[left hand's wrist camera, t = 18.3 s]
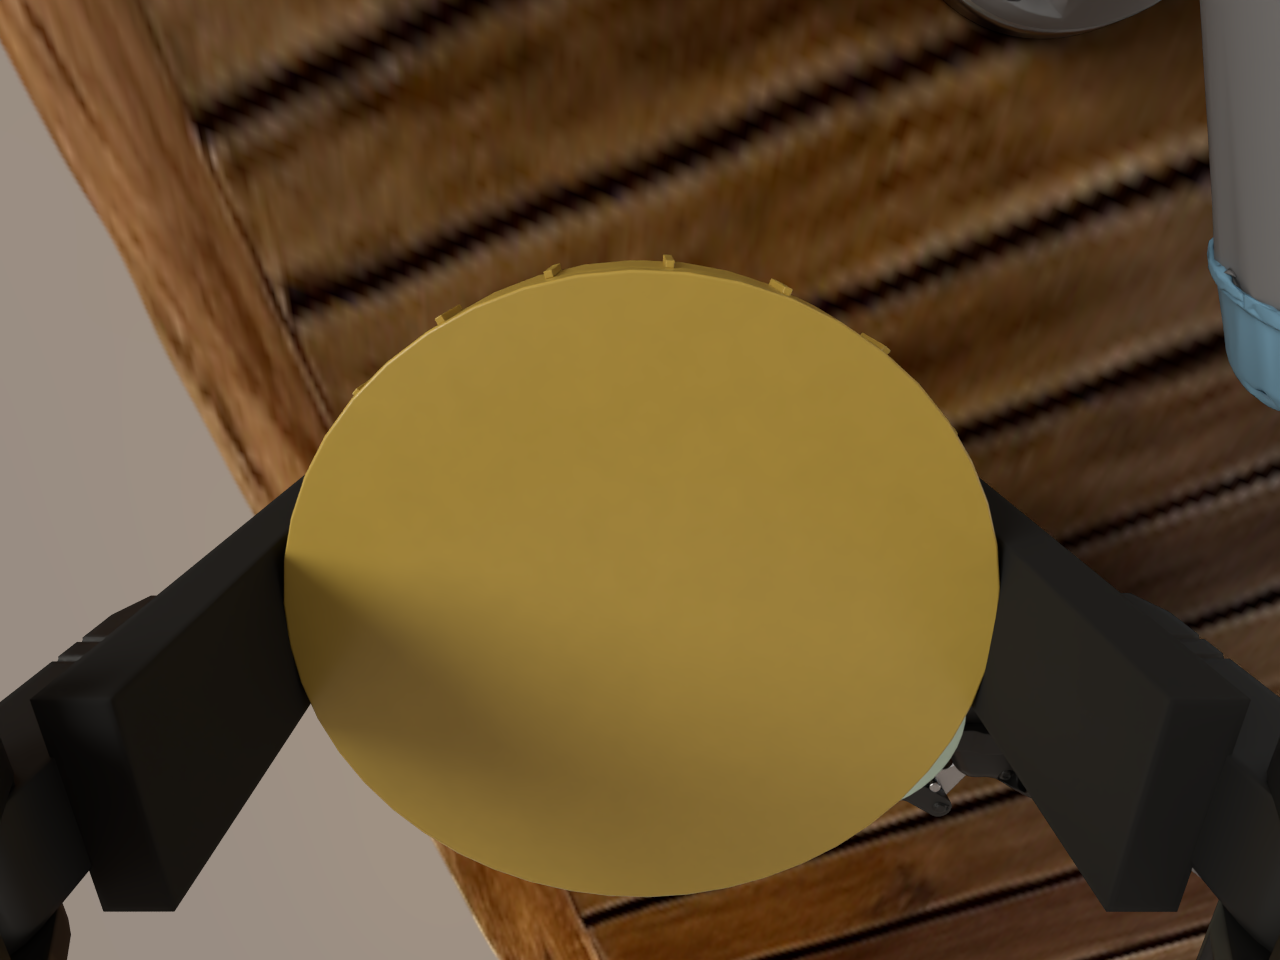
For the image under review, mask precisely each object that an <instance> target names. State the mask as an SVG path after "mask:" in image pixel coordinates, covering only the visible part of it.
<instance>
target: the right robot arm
mask: <svg viewBox="0 0 1280 960" xmlns="http://www.w3.org/2000/svg"><path fill="white" fill-rule="evenodd" d="M965 775H967V776H971V777H991V778H995V779H998V780H999V781H1001V782H1003V783H1004V784H1006V785H1008V786H1009V787H1011V788H1012V789H1014V790H1016V791H1018V792H1020V793H1021V794H1023V795H1026V796H1028V797H1030V798H1031V796H1030V795H1029V793H1028V791H1027V790H1026V788H1025V787H1024V785H1023V784H1022V782H1021V781H1020V779H1019V778H1018V776H1017V775H1016V773H1015V772H1014V770H1013V769H1012V767H1011V766H1010V764H1009V763H1008V761H1007V759H1006V758H1005V756H1004V755H1003V753H1002V752H1001V750H1000V749H999V747H998V746H997V744H996V743H995V741H994V740H993V738H992V737H991V735H990V734H989V732H988V730H987V729H986V727H985V726H984V724H983V723H982V721H981V720H980V718H979V717H978V715H977V714H976V712H975V711H974V709H973V708H972V706H971V708H970V709H969V711H968V713H967V715H966V721H965V726H964V730H963V734H962V737H961V739H960V742H959V744H958V746H957V748H956V750H955V752H954V753H953V755H952V757H951V758H950V760H949V761H948V762H947V764H946V765H945V766H944V768H943V769H942V770H941V771H940V772H939V773H938V774H937V775H936V776H935V777H934V778H933V779H932V780H931V781H930V782H928V783H927V784H926V785H925V786H923V787H922V788H921V789H919V790H918V791H916V792H915V793H913V794H911V795H910V796H908V797H906V798H904V799H902V800H904V801H908V802H909V803H911V804H913V805H915V806H916V807H918V808H920V809H922V810H924V811H925V812H927V813H929V814H931V815H933V816H943V815H945V814H947V813H948V812H949V811H950V810H951V806H952V805H951V802H950V800H949V798H948V796H947V795H946V794H947V793H948V792H949V791H950V790H951V789H952V788H953V787H954V786H955V785H956V784H957V783H958V782H959V781H960V780H961V779H962V778H963V777H964V776H965ZM1191 871H1193V872H1194V873H1196V874H1197V872H1196V871H1195V870H1194V869H1193V868H1192V870H1191ZM1197 875H1198V874H1197ZM1198 876H1199V875H1198ZM1199 877H1200V876H1199ZM1200 878H1201V877H1200Z"/></svg>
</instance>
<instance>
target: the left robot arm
mask: <svg viewBox="0 0 1280 960" xmlns="http://www.w3.org/2000/svg"><path fill="white" fill-rule="evenodd" d="M944 1H945V2H946V3H947V4H948V5H949V6H950V7H952V8H953V9H954V10H956V11H957V12H958V13H960V14H961V15H962V16H964V17H966V18H968V19H969V20H971V21H973V22H974V23H976V24H978V25H981V26H983V27H985V28H988V29H990V30H992V31H996V32H999V33H1002V34H1006V35H1010V36H1016V37H1022V38H1033V39H1050V38H1062V37H1068V36H1074V35H1079V34H1082V33H1086V32H1089V31H1093V30H1096V29H1099V28H1101V27H1104V26H1107V25H1109V24H1112V23H1115V22H1117V21H1120V20H1122V19H1125V18H1128V17H1130V16H1133V15H1135V14H1137V13H1139V12H1141V11H1143V10H1145V9H1147V8H1149V7H1151V6H1153V5H1154V4H1156V3H1157V2H1159V1H1161V0H944ZM1200 11H1201V28H1202V44H1203V60H1204V77H1205V93H1206V110H1207V126H1208V142H1209V159H1210V175H1211V191H1212V210H1213V238H1212V239H1211V240H1210V241H1209V243H1208V251H1207V257H1208V268H1209V270H1210V273H1211V275H1212V277H1213V279H1214V281H1215V282H1216V284H1217V286H1218V293H1219V300H1220V307H1221V314H1222V321H1223V328H1224V336H1225V346H1226V352H1227V356H1228V360H1229V363H1230V365H1231V367H1232V369H1233V371H1234V373H1235V375H1236V377H1237V378H1238V379H1239V381H1240V382H1241V383H1242V385H1243V386H1244V387H1245V388H1246V389H1247V390H1248V391H1249V392H1250V393H1251V394H1252V395H1253V396H1255V397H1256V398H1257V399H1259V400H1260V401H1261V402H1263V403H1264V404H1265V405H1267V406H1268V407H1271V408H1273V409H1275V410H1278V411H1280V0H1200ZM304 476H305V475H304ZM304 476H303V477H302V478H300V479H299V480H298V481H297V482H295V483H294V484H293V485H292V486H291V487H289V488H288V489H287V490H286V491H284V492H283V493H282V494H281V495H280V496H278V497H277V498H276V499H275V500H273V501H272V502H271V503H270V504H269V505H267V506H266V507H265V508H264V509H262V510H261V511H260V512H259V513H257V514H256V515H255V516H254V517H253V518H251V519H250V520H249V521H248V522H246V523H245V524H244V525H243V526H242V527H240V528H239V529H238V530H237V531H235V532H234V533H233V534H232V535H231V536H229V537H228V538H227V539H226V540H224V541H223V542H222V543H221V544H219V545H218V546H217V547H216V548H215V549H213V550H212V551H211V552H210V553H208V554H207V555H206V556H205V557H204V558H202V559H201V560H200V561H199V562H197V563H196V564H195V565H194V566H193V567H191V568H190V569H189V570H188V571H186V572H185V573H184V574H183V575H182V576H180V577H179V578H178V579H177V580H175V581H174V582H173V583H172V584H171V585H169V586H168V587H167V588H166V589H164V590H163V591H162V592H161V593H160V594H158V595H157V596H149V597H147V598H145V599H143V600H141V601H139V602H137V603H135V604H133V605H131V606H129V607H127V608H125V609H123V610H121V611H119V612H117V613H114V614H113V615H111V616H110V617H108V618H107V619H106V620H105V621H103V622H102V623H101V624H99V625H98V626H97V627H96V628H94V629H93V630H92V631H91V632H89V633H88V634H87V635H85V636H84V637H83V641H82V642H76V643H75V644H74V645H73V646H71V647H70V648H69V649H67V650H66V651H65V652H64V653H62V654H61V655H60V656H59V657H58V661H57V662H51V663H50V664H48V665H47V666H46V667H44V668H43V669H42V670H41V671H39V672H38V673H37V674H36V675H34V676H33V677H32V678H30V679H29V680H28V681H27V682H25V683H24V684H23V685H21V686H20V687H19V688H18V689H16V690H15V691H14V692H12V693H11V694H10V695H9V696H7V697H6V698H5V699H4V700H2V701H1V702H0V960H67V956H68V949H69V943H70V937H71V932H70V926H69V920H68V917H67V914H66V911H65V909H64V906H63V902H64V900H65V899H66V898H67V897H68V895H69V894H70V893H71V892H72V891H73V889H74V888H75V887H76V886H77V884H78V883H79V882H80V881H81V880H82V878H83V877H84V876H85V875H86V874H87V872H88V871H90V874H91V877H92V880H93V883H94V885H95V889H96V891H97V894H98V897H99V900H100V903H101V906H102V909H103V911H105V912H106V911H107V912H108V911H110V912H113V911H115V912H119V911H120V912H124V911H125V912H126V911H127V912H128V911H130V912H131V911H133V912H134V911H135V912H137V911H175V910H176V908H177V907H178V905H179V903H180V902H181V901H182V899H183V897H184V896H185V894H186V893H187V891H188V890H189V888H190V887H191V885H192V884H193V882H194V881H195V879H196V878H197V876H198V875H199V873H200V872H201V870H202V868H203V867H204V865H205V864H206V862H207V861H208V859H209V858H210V856H211V855H212V853H213V852H214V850H215V849H216V847H217V846H218V844H219V843H220V841H221V839H222V838H223V836H224V835H225V833H226V832H227V830H228V829H229V827H230V826H231V824H232V823H233V821H234V820H235V818H236V817H237V815H238V814H239V812H240V811H241V809H242V807H243V806H244V804H245V803H246V801H247V800H248V798H249V797H250V795H251V794H252V792H253V791H254V789H255V788H256V786H257V785H258V783H259V781H260V780H261V778H262V777H263V775H264V774H265V772H266V771H267V769H268V768H269V766H270V765H271V763H272V762H273V760H274V759H275V757H276V756H277V754H278V753H279V751H280V749H281V748H282V746H283V745H284V743H285V742H286V740H287V739H288V737H289V736H290V734H291V733H292V731H293V730H294V728H295V727H296V725H297V724H298V722H299V721H300V719H301V717H302V716H303V714H304V713H305V711H306V710H307V708H308V707H309V705H310V704H311V702H310V700H309V698H308V696H307V694H306V692H305V689H304V687H303V685H302V683H301V680H300V676H299V673H298V670H297V666H296V663H295V660H294V656H293V653H292V650H291V645H290V640H289V635H288V629H287V622H286V615H285V608H284V558H285V552H286V546H287V539H288V533H289V527H290V521H291V516H292V513H293V510H294V507H295V504H296V501H297V498H298V495H299V492H300V489H301V486H302V482H303V479H304ZM979 480H980V483H981V485H982V488H983V490H984V493H985V496H986V498H987V501H988V504H989V508H990V513H991V518H992V522H993V527H994V531H995V536H996V541H997V546H998V563H999V580H1000V593H999V600H998V606H997V612H996V618H995V623H994V628H993V633H992V639H991V644H990V649H989V654H988V659H987V664H986V669H985V673H984V676H983V679H982V681H981V684H980V686H979V689H978V691H977V694H976V696H975V699H974V701H973V704H972V708H973V709H974V711H975V712H976V714H977V715H978V717H979V718H980V720H981V721H982V723H983V724H984V726H985V727H986V729H987V730H988V732H989V734H990V735H991V737H992V738H993V740H994V741H995V743H996V744H997V746H998V747H999V749H1000V750H1001V752H1002V753H1003V755H1004V756H1005V758H1006V759H1007V761H1008V763H1009V764H1010V766H1011V767H1012V769H1013V770H1014V772H1015V773H1016V775H1017V776H1018V778H1019V779H1020V781H1021V782H1022V784H1023V785H1024V787H1025V788H1026V790H1027V791H1028V793H1029V795H1030V796H1031V798H1032V799H1033V801H1034V802H1035V804H1036V805H1037V807H1038V808H1039V810H1040V811H1041V813H1042V814H1043V816H1044V817H1045V819H1046V820H1047V822H1048V824H1049V825H1050V827H1051V828H1052V830H1053V831H1054V833H1055V834H1056V836H1057V837H1058V839H1059V840H1060V842H1061V843H1062V845H1063V846H1064V848H1065V849H1066V851H1067V853H1068V854H1069V856H1070V857H1071V859H1072V860H1073V862H1074V863H1075V865H1076V866H1077V868H1078V869H1079V871H1080V872H1081V874H1082V875H1083V877H1084V878H1085V880H1086V881H1087V883H1088V885H1089V886H1090V888H1091V889H1092V891H1093V892H1094V894H1095V895H1096V897H1097V898H1098V900H1099V901H1100V903H1101V904H1102V906H1103V907H1104V909H1105V910H1106V912H1177V910H1178V908H1179V905H1180V902H1181V899H1182V896H1183V893H1184V890H1185V888H1186V885H1187V882H1188V879H1189V876H1190V873H1191V870H1192V868H1193V869H1194V870H1195V871H1196V872H1197V874H1198V875H1199V876H1200V877H1201V878H1202V880H1203V881H1204V882H1205V883H1206V884H1207V886H1208V887H1209V888H1210V889H1211V890H1212V892H1213V893H1214V894H1215V895H1216V897H1217V898H1218V899H1219V901H1218V903H1217V906H1216V909H1215V911H1214V914H1213V917H1212V919H1211V922H1210V925H1209V927H1208V930H1207V933H1206V935H1205V938H1204V941H1203V943H1202V946H1201V949H1200V951H1199V954H1198V957H1197V959H1196V960H1280V697H1278V696H1277V695H1276V694H1274V693H1273V692H1272V691H1271V690H1269V689H1268V688H1267V687H1265V686H1264V685H1263V684H1262V683H1260V682H1259V681H1258V680H1256V679H1255V678H1254V677H1252V676H1251V675H1250V674H1249V673H1247V672H1246V671H1245V670H1243V669H1242V668H1241V667H1240V666H1238V665H1237V664H1236V663H1234V662H1233V661H1232V660H1231V659H1224V657H1223V653H1222V652H1220V651H1219V650H1218V649H1216V648H1215V647H1214V646H1213V645H1211V644H1210V643H1209V642H1207V641H1206V640H1205V639H1199V635H1198V634H1197V633H1196V632H1195V631H1193V630H1192V629H1191V628H1189V627H1188V626H1187V625H1186V624H1184V623H1183V622H1182V621H1180V620H1179V619H1178V618H1176V617H1175V616H1174V615H1173V614H1171V613H1170V612H1168V611H1166V610H1164V609H1162V608H1160V607H1158V606H1156V605H1154V604H1152V603H1150V602H1148V601H1146V600H1143V599H1141V598H1139V597H1137V596H1135V595H1133V594H1131V593H1120V592H1119V591H1117V590H1116V589H1115V588H1114V587H1112V586H1111V585H1110V584H1109V583H1108V582H1106V581H1105V580H1104V579H1103V578H1101V577H1100V576H1099V575H1098V574H1097V573H1095V572H1094V571H1093V570H1092V569H1090V568H1089V567H1088V566H1087V565H1086V564H1084V563H1083V562H1082V561H1081V560H1079V559H1078V558H1077V557H1076V556H1075V555H1073V554H1072V553H1071V552H1070V551H1068V550H1067V549H1066V548H1065V547H1063V546H1062V545H1061V544H1060V543H1059V542H1057V541H1056V540H1055V539H1054V538H1052V537H1051V536H1050V535H1049V534H1048V533H1046V532H1045V531H1044V530H1043V529H1041V528H1040V527H1039V526H1038V525H1037V524H1035V523H1034V522H1033V521H1032V520H1030V519H1029V518H1028V517H1027V516H1025V515H1024V514H1023V513H1022V512H1021V511H1019V510H1018V509H1017V508H1016V507H1014V506H1013V505H1012V504H1011V503H1010V502H1008V501H1007V500H1006V499H1005V498H1003V497H1002V496H1001V495H1000V494H999V493H997V492H996V491H995V490H994V489H992V488H991V487H990V486H989V485H988V484H986V483H985V482H984V481H983V480H981V479H980V478H979Z"/></svg>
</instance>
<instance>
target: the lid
mask: <svg viewBox="0 0 1280 960" xmlns="http://www.w3.org/2000/svg"><path fill="white" fill-rule="evenodd" d="M792 291H793V289H791V288H789V287H788V286H786V285H784V284H782V283H781V282H779V281H777V280H774V279H771V281H770V283H769V284H767V283H764V282H761V281H758V280H755V279H751V278H748V277H745V276H742V275H739V274H736V273H733V272H730V271H727V270H721V269H715V268H710V267H704V266H699V265H693V264H688V263H682V262H675V261H674V259H673V258H672V256H671V255H663V261H641V260H629V261H618V262H608V263H597V264H586V265H581V266H577V267H573V268H568V269H564V270H562V268H561V265H560V263H559V264H555V265H553V266H551V267H550V268H548V269H547V270H546V271H544V274H543V275H539V276H536V277H533V278H531V279H528V280H526V281H523V282H520V283H518V284H515V285H513V286H510V287H507V288H505V289H502V290H500V291H497V292H494V293H493V294H491V295H489V296H487V297H486V298H484V299H482V300H480V301H478V302H477V303H475V304H473V305H471V306H469V307H468V308H466V309H464V310H463V309H462V307H461V306H460V305H458V306H456V307H454V308H452V309H451V310H449V311H447V312H445V313H444V314H442V315H440V316H439V317H437V318H435V321H436V322H437V324H438V325H437V326H435V327H434V328H432V329H431V330H429V331H427V332H426V333H425V334H423V335H422V336H421V337H419V338H418V339H417V340H415V341H414V342H413V343H411V344H410V345H409V346H408V347H406V348H405V349H404V350H402V351H401V352H400V353H398V354H397V355H396V356H394V357H393V358H392V359H391V360H389V361H388V362H387V363H386V364H385V365H384V366H383V367H382V368H381V369H380V370H379V371H378V372H377V373H376V374H375V375H374V376H373V377H372V378H371V379H370V380H369V381H367V382H366V383H364V384H363V385H361V386H359V387H358V388H356V390H355V391H354V392H353V395H354V397H353V398H352V399H351V400H350V402H349V403H348V404H347V406H346V407H345V409H344V410H343V411H342V413H341V414H340V416H339V417H338V418H337V420H336V421H335V423H334V424H333V425H332V427H331V428H330V430H329V431H328V432H327V434H326V435H325V437H324V439H323V441H322V443H321V445H320V447H319V449H318V451H317V453H316V455H315V457H314V459H313V461H312V463H311V465H310V467H309V469H308V470H307V472H306V474H305V476H304V479H303V482H302V486H301V489H300V492H299V495H298V498H297V501H296V504H295V507H294V510H293V513H292V516H291V521H290V527H289V533H288V539H287V546H286V552H285V558H284V608H285V615H286V622H287V629H288V635H289V640H290V645H291V650H292V653H293V656H294V660H295V663H296V666H297V670H298V673H299V676H300V680H301V683H302V685H303V687H304V689H305V692H306V694H307V696H308V698H309V700H310V702H311V705H312V707H313V709H314V711H315V713H316V716H317V718H318V719H319V721H320V723H321V724H322V726H323V727H324V729H325V731H326V732H327V734H328V735H329V737H330V738H331V740H332V742H333V743H334V745H335V746H336V748H337V750H338V751H339V753H340V754H341V755H342V756H343V757H344V759H345V760H346V761H347V762H348V763H349V765H350V766H351V767H352V768H353V769H354V771H355V772H356V773H357V774H358V775H359V777H360V778H361V779H362V780H363V781H364V783H365V784H366V785H367V786H369V787H370V788H371V789H372V790H373V791H374V792H375V793H376V794H377V795H378V796H379V797H380V798H381V799H382V800H383V801H384V802H385V803H387V804H388V805H389V806H390V807H391V808H392V809H393V810H394V811H396V812H397V813H398V814H400V815H401V816H402V817H404V818H405V819H406V820H408V821H409V822H410V823H412V824H413V825H414V826H416V827H417V828H418V829H420V830H421V831H422V832H424V833H425V834H427V835H428V836H430V837H432V838H434V839H435V840H437V841H439V842H440V843H442V844H444V845H445V846H447V847H449V848H450V849H452V850H454V851H456V852H457V853H459V854H461V855H464V856H466V857H468V858H470V859H472V860H475V861H477V862H479V863H481V864H483V865H486V866H488V867H490V868H492V869H494V870H497V871H500V872H503V873H506V874H509V875H512V876H515V877H518V878H521V879H524V880H527V881H530V882H534V883H538V884H543V885H547V886H551V887H556V888H560V889H565V890H569V891H576V892H584V893H592V894H600V895H607V896H635V897H655V896H670V895H685V894H693V893H699V892H705V891H711V890H717V889H723V888H728V887H732V886H736V885H740V884H743V883H747V882H751V881H755V880H758V879H762V878H766V877H768V876H771V875H774V874H776V873H779V872H781V871H784V870H787V869H789V868H792V867H795V866H797V865H800V864H802V863H804V862H806V861H808V860H810V859H812V858H814V857H816V856H818V855H820V854H822V853H824V852H826V851H828V850H830V849H832V848H834V847H836V846H838V845H840V844H841V843H843V842H844V841H846V840H847V839H849V838H850V837H852V836H854V835H855V834H857V833H858V832H860V831H861V830H863V829H864V828H866V827H867V826H869V825H871V824H872V823H873V822H874V821H875V820H877V819H878V818H879V817H880V816H882V815H883V814H884V813H885V812H886V811H888V810H889V809H890V808H891V807H893V806H894V805H895V804H896V803H897V802H899V801H900V800H901V799H902V798H903V797H904V796H905V795H906V794H907V793H908V792H909V791H910V790H911V789H912V788H913V787H914V786H915V785H916V784H917V783H918V782H919V781H920V779H921V778H922V777H923V776H924V775H925V774H926V773H927V772H928V771H929V770H930V769H931V767H932V766H933V765H934V763H935V762H936V761H937V759H938V758H939V757H940V755H941V754H942V753H943V751H944V750H945V749H946V747H947V746H948V745H949V743H950V742H951V741H952V739H953V738H954V736H955V734H956V732H957V730H958V729H959V727H960V725H961V723H962V722H963V720H964V718H965V716H966V715H967V713H968V711H969V709H970V708H971V706H972V704H973V701H974V699H975V696H976V694H977V691H978V689H979V686H980V684H981V681H982V679H983V676H984V673H985V669H986V664H987V659H988V654H989V649H990V644H991V639H992V633H993V628H994V623H995V618H996V612H997V606H998V600H999V593H1000V580H999V563H998V546H997V541H996V536H995V531H994V527H993V522H992V518H991V513H990V508H989V504H988V501H987V498H986V496H985V493H984V490H983V488H982V485H981V483H980V480H979V477H978V475H977V472H976V470H975V467H974V465H973V462H972V460H971V458H970V457H969V455H968V453H967V451H966V450H965V448H964V446H963V444H962V443H961V441H960V439H959V438H958V436H957V432H956V430H955V428H953V427H952V425H951V424H950V422H949V420H948V419H947V418H946V417H945V416H944V414H943V413H942V412H941V411H940V409H939V408H938V407H937V406H936V404H935V403H934V402H933V401H932V399H931V398H930V397H929V396H928V394H927V393H926V392H925V391H924V389H923V388H922V387H921V386H920V384H919V383H918V382H916V381H915V380H914V379H913V378H912V377H911V376H910V375H909V374H908V373H907V372H906V371H905V370H903V369H902V368H901V367H900V366H899V365H898V364H897V363H896V362H895V361H894V360H893V359H892V358H890V357H889V356H888V353H889V352H890V349H888V348H887V347H886V346H885V345H883V344H881V343H880V342H878V341H876V340H874V339H873V338H871V337H869V336H868V335H866V334H864V333H862V334H861V335H859V334H858V333H856V332H855V331H854V330H852V329H851V328H849V327H848V326H846V325H845V324H843V323H842V322H840V321H839V320H837V319H835V318H833V317H832V316H830V315H829V314H827V313H825V312H824V311H822V310H820V309H819V308H817V307H815V306H814V305H812V304H809V303H807V302H805V301H803V300H801V299H799V298H797V297H795V296H793V295H791V293H792Z"/></svg>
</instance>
